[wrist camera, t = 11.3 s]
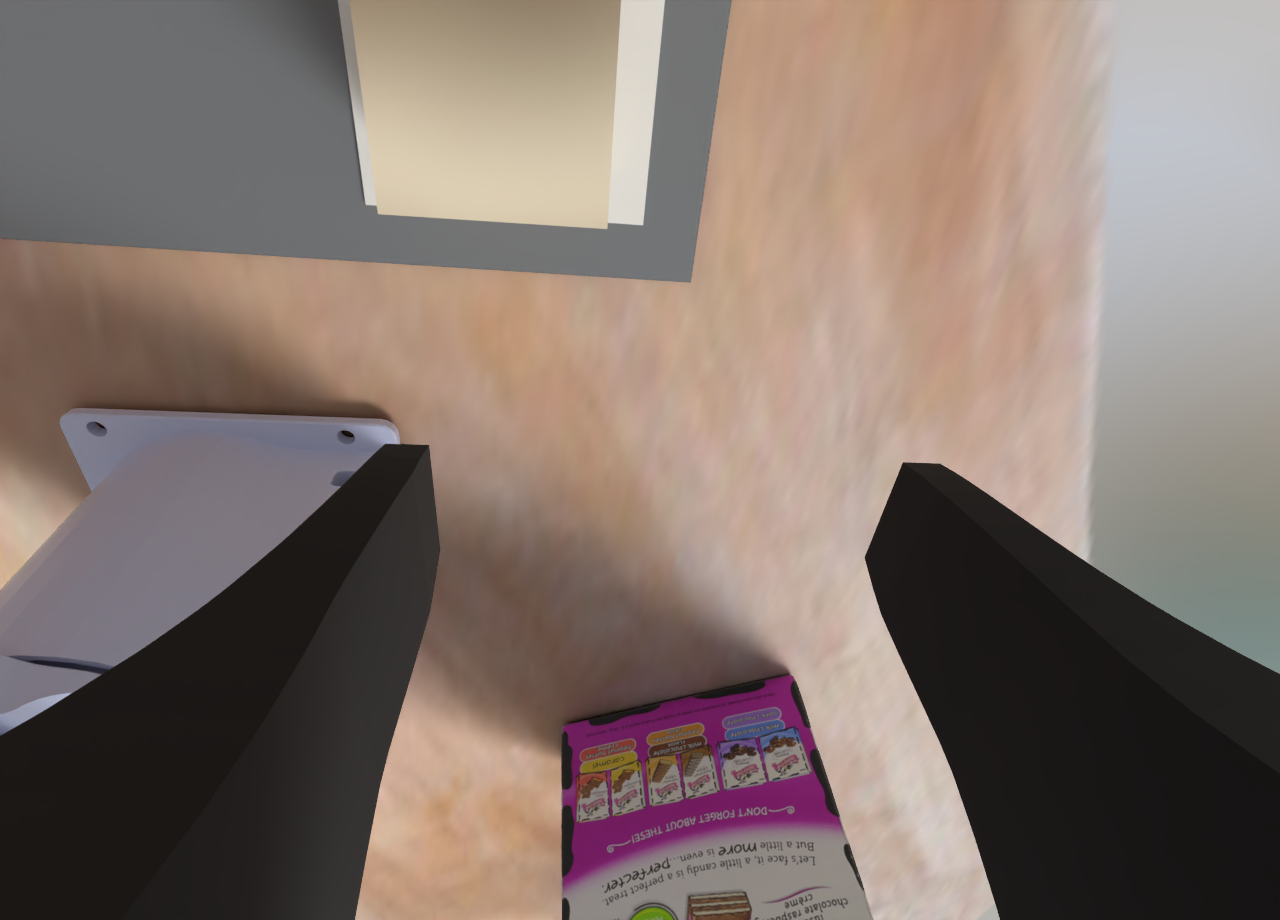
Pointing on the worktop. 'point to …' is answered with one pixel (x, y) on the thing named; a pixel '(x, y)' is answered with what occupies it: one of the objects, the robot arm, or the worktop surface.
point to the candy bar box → (704, 813)
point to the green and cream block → (490, 107)
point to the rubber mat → (312, 138)
